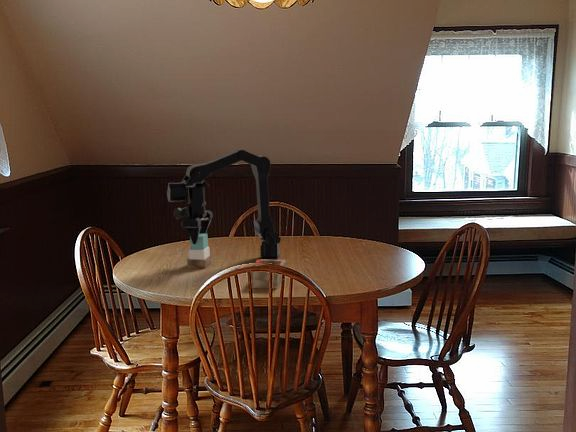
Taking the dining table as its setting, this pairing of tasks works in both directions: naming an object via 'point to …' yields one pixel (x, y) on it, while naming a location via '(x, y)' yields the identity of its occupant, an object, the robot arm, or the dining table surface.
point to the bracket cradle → (267, 276)
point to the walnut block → (199, 263)
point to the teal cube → (200, 242)
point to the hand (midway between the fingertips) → (198, 241)
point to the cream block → (199, 254)
